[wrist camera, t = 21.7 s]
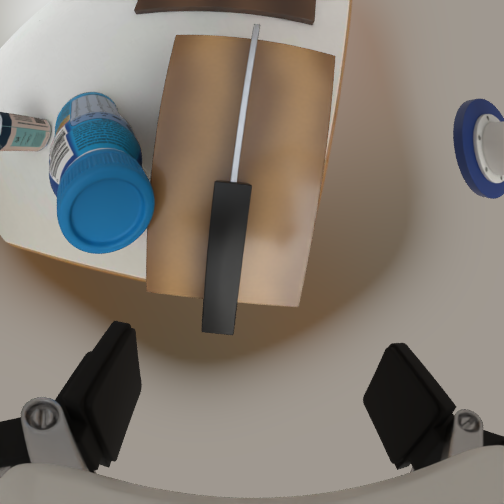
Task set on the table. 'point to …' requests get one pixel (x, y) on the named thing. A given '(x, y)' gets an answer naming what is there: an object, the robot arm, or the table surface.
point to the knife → (228, 230)
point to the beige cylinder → (23, 133)
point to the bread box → (250, 166)
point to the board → (236, 7)
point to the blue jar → (98, 176)
